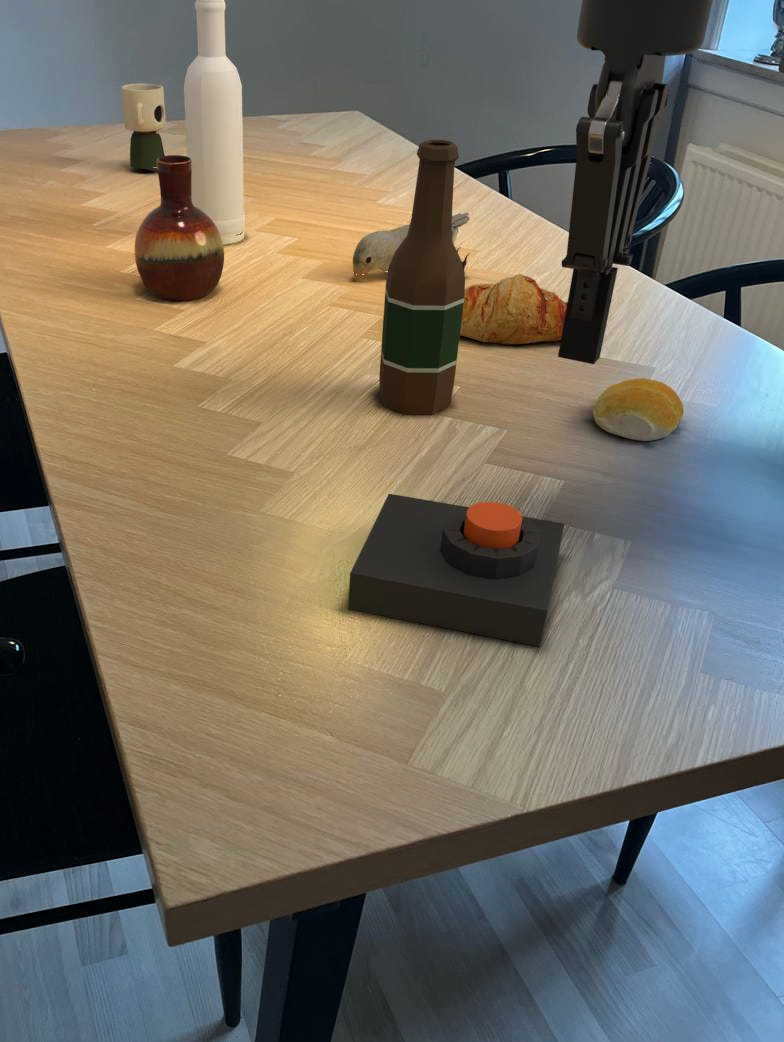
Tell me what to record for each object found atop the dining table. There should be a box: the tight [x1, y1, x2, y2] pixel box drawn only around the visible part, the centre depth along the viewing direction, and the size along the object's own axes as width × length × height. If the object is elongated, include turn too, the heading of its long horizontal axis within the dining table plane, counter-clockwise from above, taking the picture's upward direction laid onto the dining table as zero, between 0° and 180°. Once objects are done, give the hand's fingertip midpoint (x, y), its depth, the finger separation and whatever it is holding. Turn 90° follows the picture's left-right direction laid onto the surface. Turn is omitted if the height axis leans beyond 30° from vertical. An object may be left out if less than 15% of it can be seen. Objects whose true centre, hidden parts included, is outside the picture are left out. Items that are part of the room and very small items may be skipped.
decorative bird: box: [352, 212, 470, 282], centre depth 128 cm, size 5×16×8 cm, turn 108°
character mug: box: [121, 83, 166, 173], centre depth 169 cm, size 11×7×13 cm, turn 177°
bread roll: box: [592, 377, 685, 442], centre depth 96 cm, size 8×9×4 cm
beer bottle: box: [378, 139, 466, 415], centre depth 93 cm, size 8×8×24 cm
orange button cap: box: [464, 501, 523, 549], centre depth 71 cm, size 4×4×2 cm
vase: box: [134, 154, 225, 302], centre depth 120 cm, size 11×11×15 cm
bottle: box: [183, 0, 246, 246], centre depth 133 cm, size 8×8×30 cm
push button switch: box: [347, 493, 565, 647], centre depth 73 cm, size 14×12×5 cm
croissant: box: [460, 273, 568, 345], centre depth 113 cm, size 21×10×8 cm, turn 79°
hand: (578, 356), depth 72 cm, fingers closed
